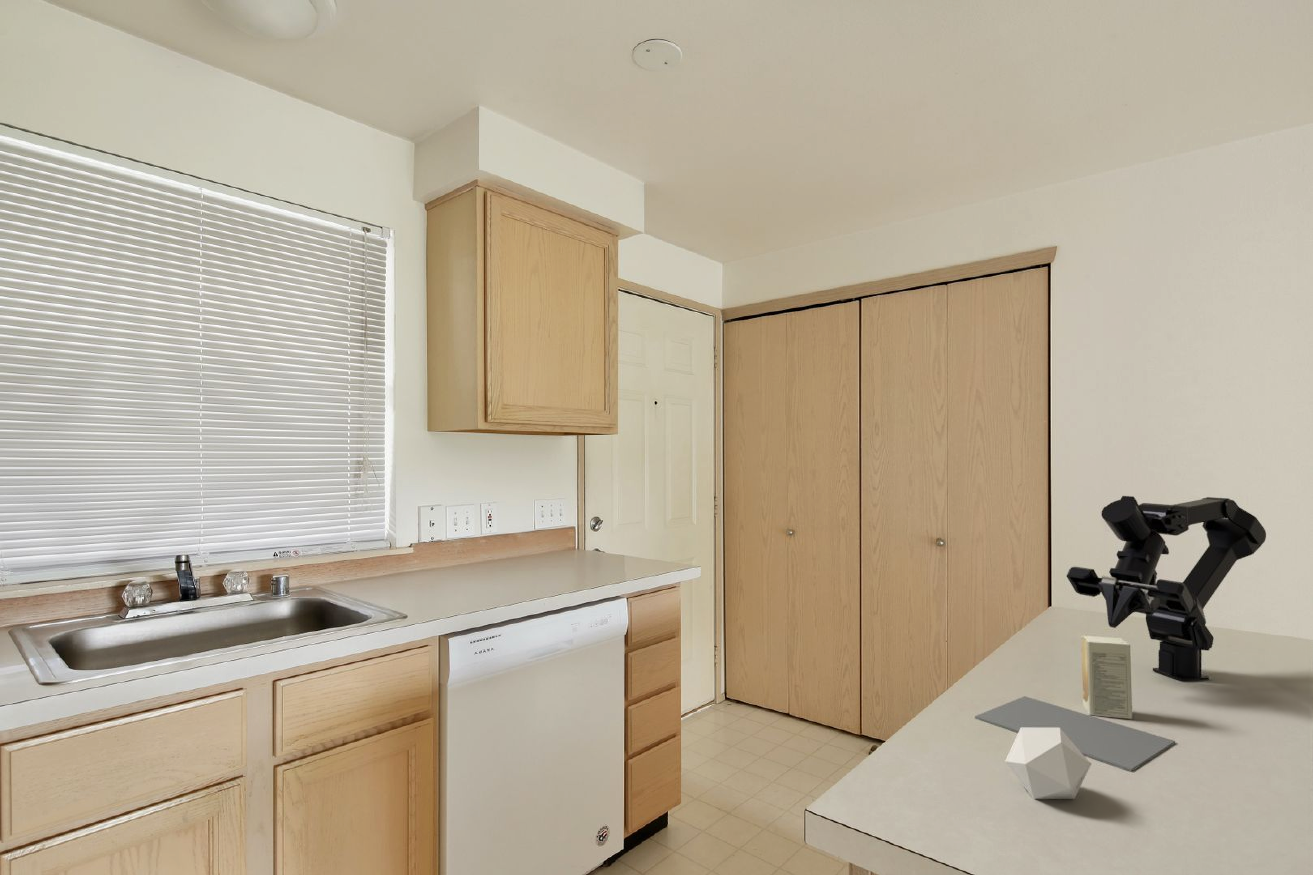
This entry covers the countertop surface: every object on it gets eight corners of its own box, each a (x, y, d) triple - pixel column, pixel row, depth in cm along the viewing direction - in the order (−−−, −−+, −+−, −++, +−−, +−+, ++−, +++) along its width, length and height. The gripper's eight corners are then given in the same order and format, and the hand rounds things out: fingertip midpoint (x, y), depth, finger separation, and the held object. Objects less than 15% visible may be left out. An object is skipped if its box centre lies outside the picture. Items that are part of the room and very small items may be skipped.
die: (1087, 824, 80) (1112, 748, 83) (1017, 781, 81) (1045, 708, 85) (1048, 814, 87) (1073, 745, 91) (985, 775, 89) (1012, 708, 92)
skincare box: (1124, 710, 114) (1124, 637, 114) (1133, 720, 110) (1133, 644, 110) (1080, 705, 116) (1080, 633, 116) (1087, 715, 112) (1087, 640, 112)
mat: (1024, 697, 119) (1024, 696, 119) (1175, 742, 101) (1175, 740, 101) (975, 717, 110) (975, 715, 110) (1131, 771, 92) (1131, 769, 92)
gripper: (1212, 593, 123) (1187, 666, 117) (1099, 576, 138) (1072, 639, 132) (1194, 554, 118) (1167, 628, 112) (1080, 541, 134) (1051, 605, 128)
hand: (1111, 626), depth 121 cm, fingers closed
